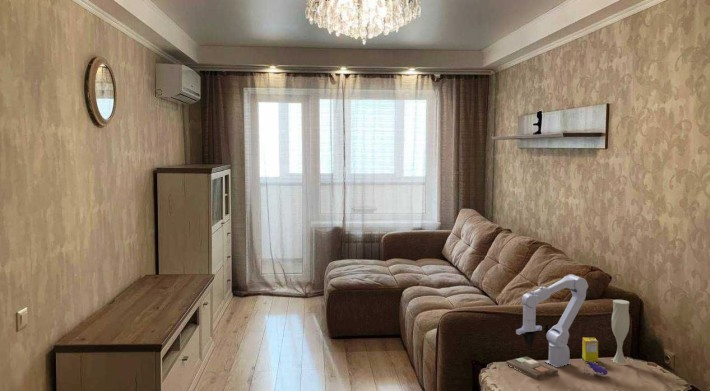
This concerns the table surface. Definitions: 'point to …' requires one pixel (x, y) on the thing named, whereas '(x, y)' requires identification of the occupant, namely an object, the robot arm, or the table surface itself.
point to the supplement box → (589, 349)
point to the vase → (620, 326)
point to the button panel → (533, 369)
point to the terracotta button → (541, 369)
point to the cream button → (531, 363)
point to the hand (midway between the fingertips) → (528, 346)
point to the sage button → (521, 360)
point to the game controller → (597, 368)
